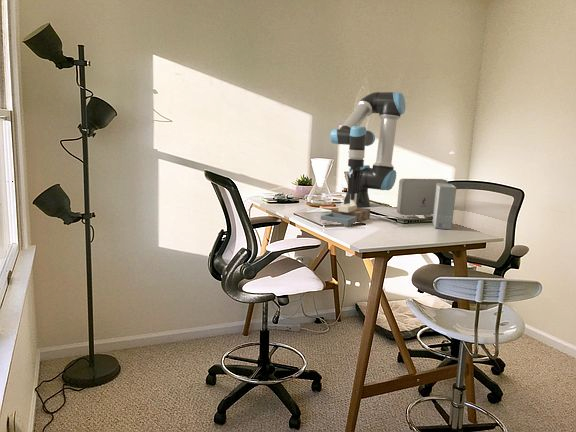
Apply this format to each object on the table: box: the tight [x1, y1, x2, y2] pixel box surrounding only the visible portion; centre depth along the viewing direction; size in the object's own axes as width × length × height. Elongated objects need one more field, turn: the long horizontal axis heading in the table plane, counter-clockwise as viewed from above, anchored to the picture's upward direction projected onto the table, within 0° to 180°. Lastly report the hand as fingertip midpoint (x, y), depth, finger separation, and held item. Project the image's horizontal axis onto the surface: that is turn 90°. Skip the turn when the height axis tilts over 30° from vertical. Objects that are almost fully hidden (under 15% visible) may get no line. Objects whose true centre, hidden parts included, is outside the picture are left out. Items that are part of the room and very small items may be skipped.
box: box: [320, 212, 357, 228], centre depth 220 cm, size 10×14×4 cm
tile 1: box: [337, 204, 353, 213], centre depth 225 cm, size 5×5×2 cm
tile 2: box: [343, 203, 357, 211], centre depth 229 cm, size 5×5×2 cm
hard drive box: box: [431, 183, 457, 230], centre depth 223 cm, size 16×8×20 cm, turn 168°
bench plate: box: [330, 206, 371, 223], centre depth 231 cm, size 15×14×5 cm
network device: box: [396, 178, 449, 217], centre depth 242 cm, size 26×9×20 cm, turn 104°
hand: (352, 206), depth 232 cm, fingers closed
